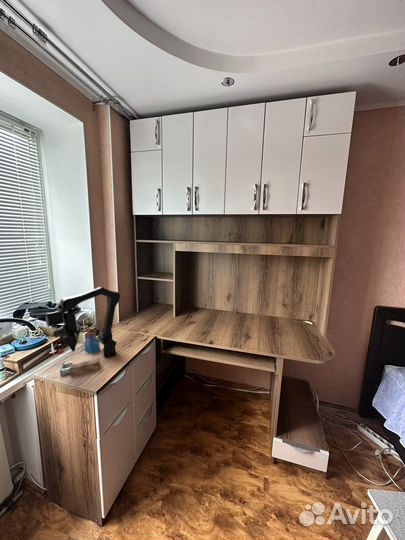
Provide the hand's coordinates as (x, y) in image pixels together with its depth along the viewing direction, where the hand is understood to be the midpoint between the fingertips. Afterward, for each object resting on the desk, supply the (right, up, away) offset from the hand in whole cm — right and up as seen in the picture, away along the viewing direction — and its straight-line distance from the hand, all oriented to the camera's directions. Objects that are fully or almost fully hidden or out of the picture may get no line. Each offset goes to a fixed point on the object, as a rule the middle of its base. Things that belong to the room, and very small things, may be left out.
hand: (74, 347), depth 123 cm
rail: (+7, -12, -1) cm, 14 cm away
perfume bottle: (-1, -10, +22) cm, 24 cm away
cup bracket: (-3, -12, 0) cm, 13 cm away
